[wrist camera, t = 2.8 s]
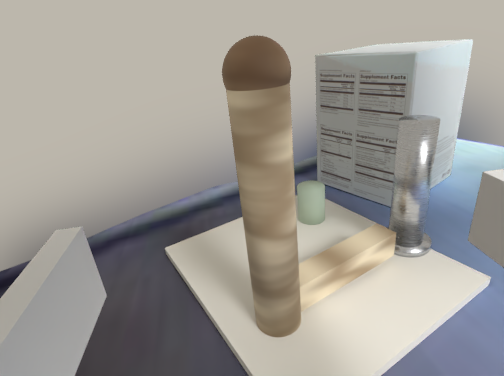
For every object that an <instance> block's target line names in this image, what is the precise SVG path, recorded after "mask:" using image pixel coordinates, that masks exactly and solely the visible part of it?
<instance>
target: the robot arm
mask: <svg viewBox="0 0 504 376" xmlns="http://www.w3.org/2000/svg"><path fill="white" fill-rule="evenodd" d="M468 241H469V242H470V243H472V244H473V245H474V246H476V247H477V248H478V249H480V250H481V251H482V252H484V253H485V254H486V255H487V256H489V257H490V258H491V259H493V260H494V261H495V262H497V263H498V264H499V265H501V266H502V267H503V268H504V169H500V170H492V171H485V172H483V174H482V179H481V183H480V188H479V192H478V197H477V201H476V205H475V210H474V214H473V219H472V223H471V228H470V232H469V237H468ZM106 296H107V295H106V292H105V289H104V286H103V284H102V281H101V278H100V275H99V272H98V270H97V267H96V264H95V261H94V258H93V256H92V253H91V250H90V247H89V244H88V242H87V239H86V236H85V233H84V230H83V228H82V226H81V227H74V228H67V229H59V230H56V231H55V232H54V233H53V235H52V236H51V237H50V238H49V240H48V241H47V242H46V243H45V244H44V246H43V247H42V248H41V249H40V251H39V252H38V253H37V254H36V255H35V257H34V258H33V259H32V260H31V262H30V263H29V264H28V265H27V266H26V268H25V269H24V270H23V271H22V273H21V274H20V275H19V276H18V278H17V279H16V280H15V281H14V282H13V284H12V285H11V286H10V287H9V289H8V290H7V291H6V292H5V294H4V295H3V296H2V297H1V298H0V376H75V373H76V371H77V369H78V366H79V364H80V361H81V359H82V356H83V354H84V351H85V349H86V346H87V344H88V341H89V339H90V336H91V334H92V331H93V329H94V326H95V324H96V321H97V319H98V316H99V314H100V311H101V309H102V306H103V304H104V301H105V299H106Z"/></svg>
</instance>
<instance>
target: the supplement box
mask: <svg viewBox="0 0 504 376" xmlns="http://www.w3.org/2000/svg"><path fill="white" fill-rule="evenodd" d="M472 44H473V40H470V39H469V40H445V41H427V42H412V43H395V44H378V45H371V46H366V47H360V48H355V49H349V50H344V51H338V52H332V53H326V54H319V55H315V57H316V113H317V115H316V116H317V181H319V182H322V183H323V184H325V185H328V186H331V187H334V188H337V189H340V190H343V191H346V192H349V193H351V194H354V195H357V196H360V197H363V198H366V199H369V200H372V201H375V202H378V203H380V204H383V205H386V206H389V207H391V200H392V189H393V178H394V167H395V156H396V145H397V134H398V123H399V118H401V117H404V116H410V115H428V116H434V117H438V118H440V127H439V134H438V141H437V148H436V155H435V161H434V168H433V175H432V182H431V188H433V187H434V186H436V185H437V184H439V183H440V182H442V181H443V180H444V179H446V178H447V177H449V176H450V175H451V170H452V163H453V157H454V151H455V145H456V139H457V134H458V127H459V121H460V115H461V109H462V103H463V98H464V92H465V86H466V80H467V74H468V68H469V62H470V56H471V49H472Z"/></svg>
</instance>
